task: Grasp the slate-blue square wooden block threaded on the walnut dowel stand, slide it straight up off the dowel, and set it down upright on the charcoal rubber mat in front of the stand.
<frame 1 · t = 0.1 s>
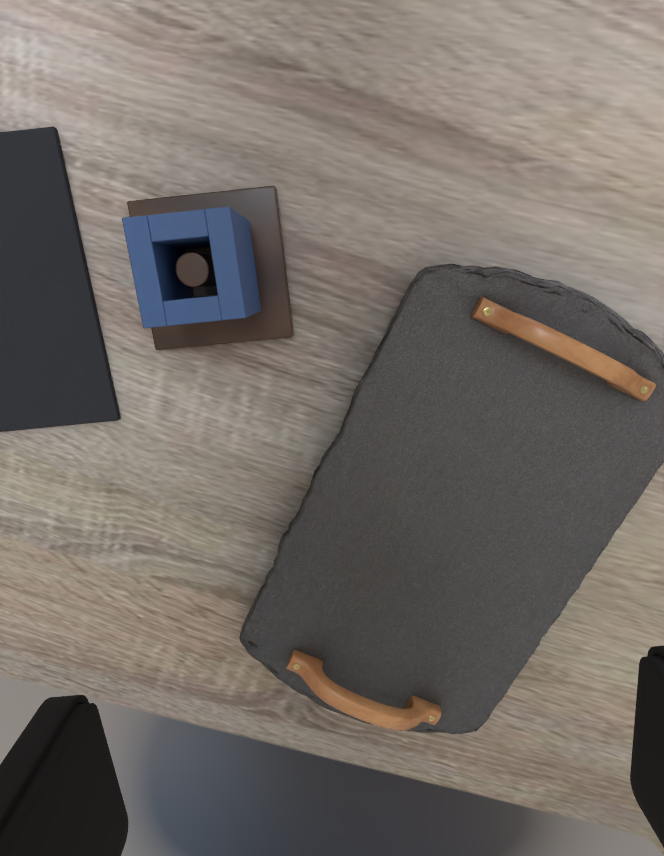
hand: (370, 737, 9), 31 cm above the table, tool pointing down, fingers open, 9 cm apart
dowel stand: (215, 271, 37), on the table
block: (212, 271, 36), point 1 cm above the table, touching dowel stand
serving tray: (443, 514, 42), on the table
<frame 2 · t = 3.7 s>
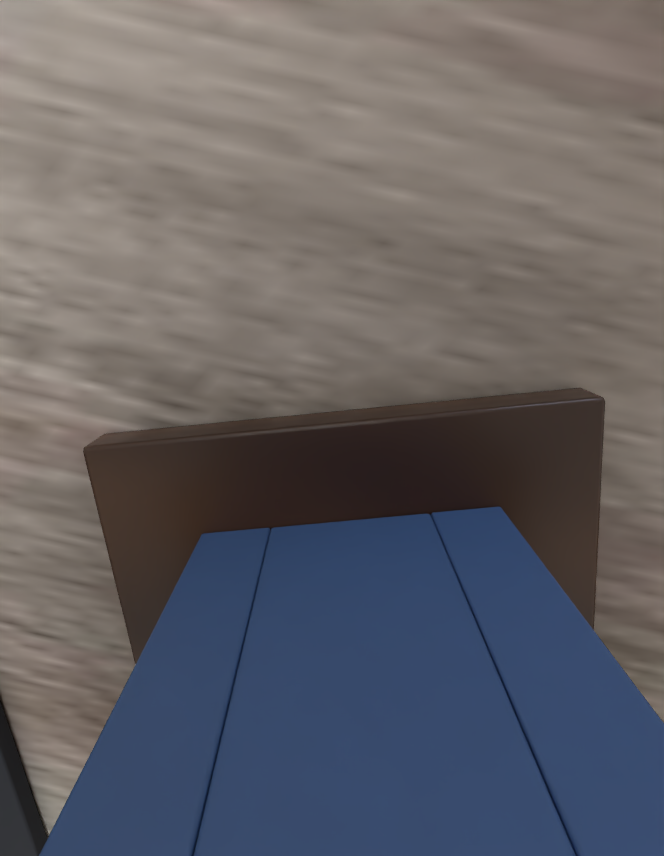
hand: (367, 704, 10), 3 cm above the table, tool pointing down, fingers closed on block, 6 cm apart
dowel stand: (359, 616, 12), on the table
block: (362, 645, 11), point 1 cm above the table, touching dowel stand, gripper
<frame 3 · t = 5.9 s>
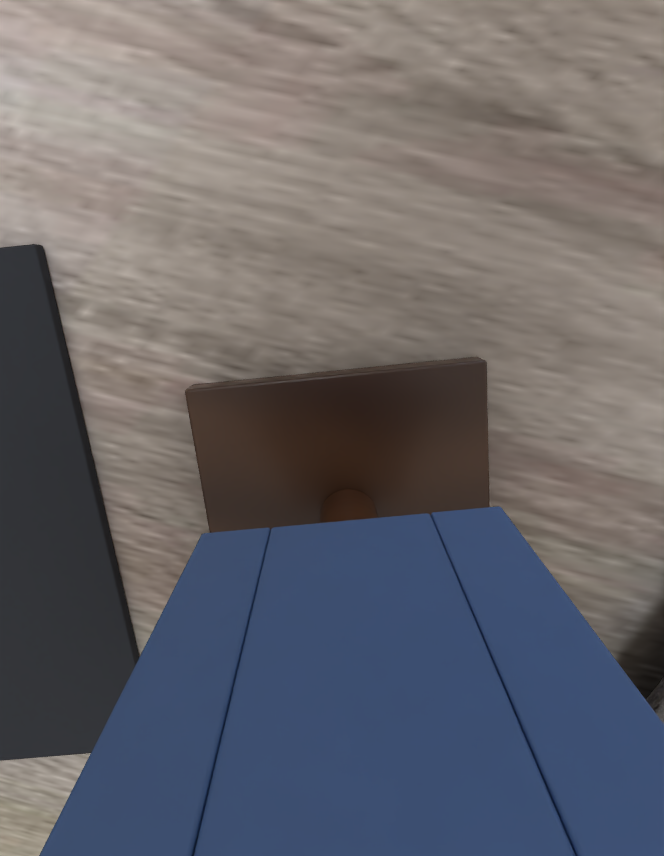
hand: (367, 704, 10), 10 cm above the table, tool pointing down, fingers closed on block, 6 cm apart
dowel stand: (347, 503, 19), on the table
block: (362, 644, 11), point 8 cm above the table, touching gripper
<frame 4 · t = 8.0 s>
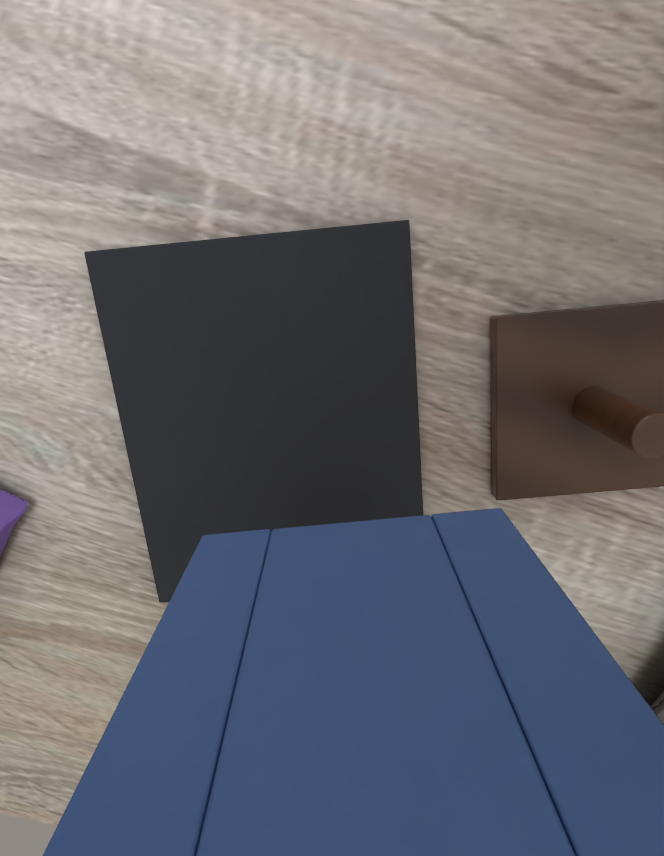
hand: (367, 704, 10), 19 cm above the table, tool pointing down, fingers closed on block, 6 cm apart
dowel stand: (582, 401, 28), on the table
block: (362, 646, 11), point 18 cm above the table, touching gripper
mat: (272, 429, 28), on the table
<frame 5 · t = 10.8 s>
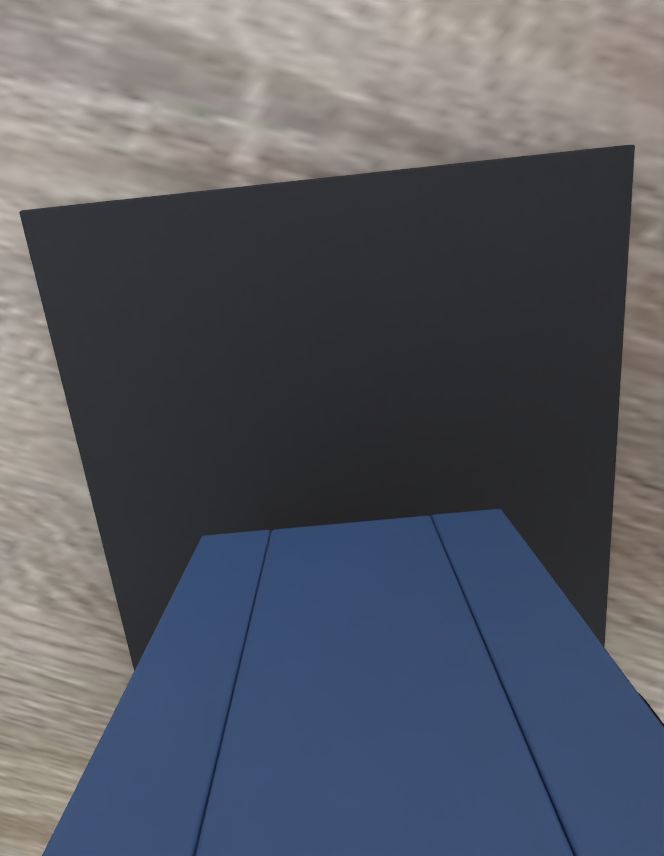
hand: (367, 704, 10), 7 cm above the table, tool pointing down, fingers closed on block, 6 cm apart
block: (362, 647, 11), point 6 cm above the table, touching gripper
mat: (354, 520, 16), on the table
when the fingers open (2 cm above the table, at t = 12.6 s): block stays where it is, resting on mat.
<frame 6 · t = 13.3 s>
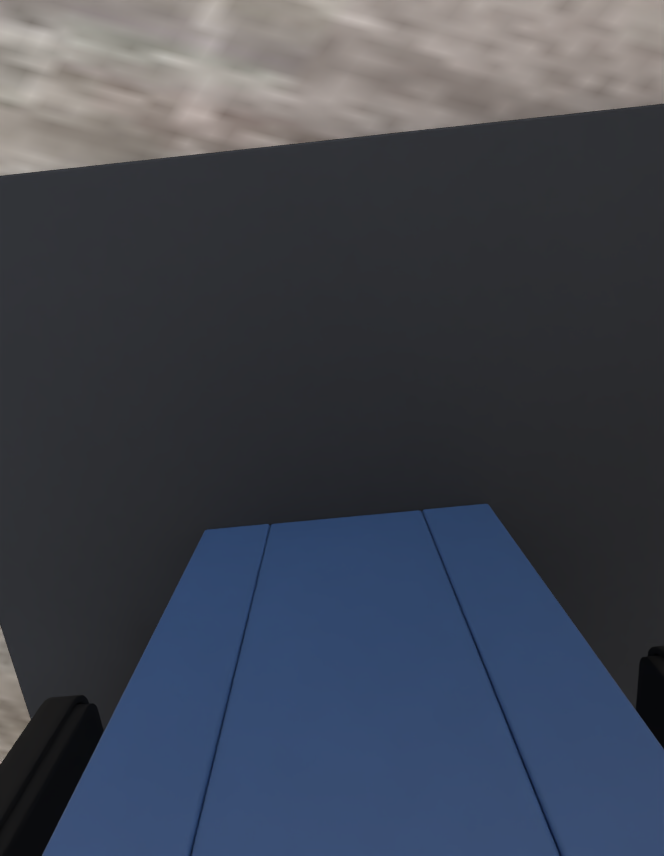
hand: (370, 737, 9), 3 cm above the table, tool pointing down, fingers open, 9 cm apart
block: (357, 636, 12), resting on mat
mat: (357, 618, 12), on the table
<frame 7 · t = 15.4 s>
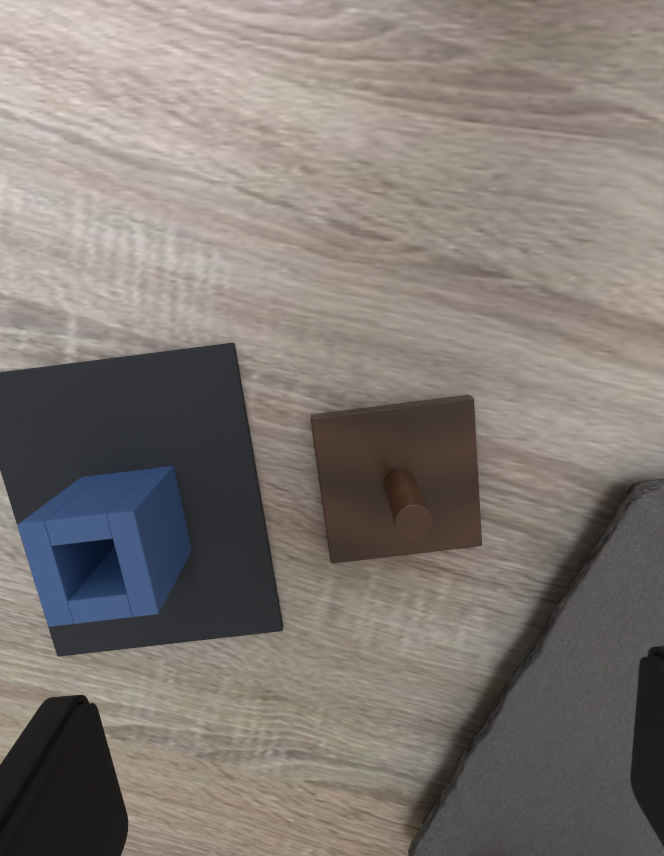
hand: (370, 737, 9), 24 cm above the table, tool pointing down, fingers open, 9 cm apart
dowel stand: (397, 478, 33), on the table
block: (137, 514, 33), resting on mat
mat: (140, 509, 34), on the table
serving tray: (628, 711, 38), on the table
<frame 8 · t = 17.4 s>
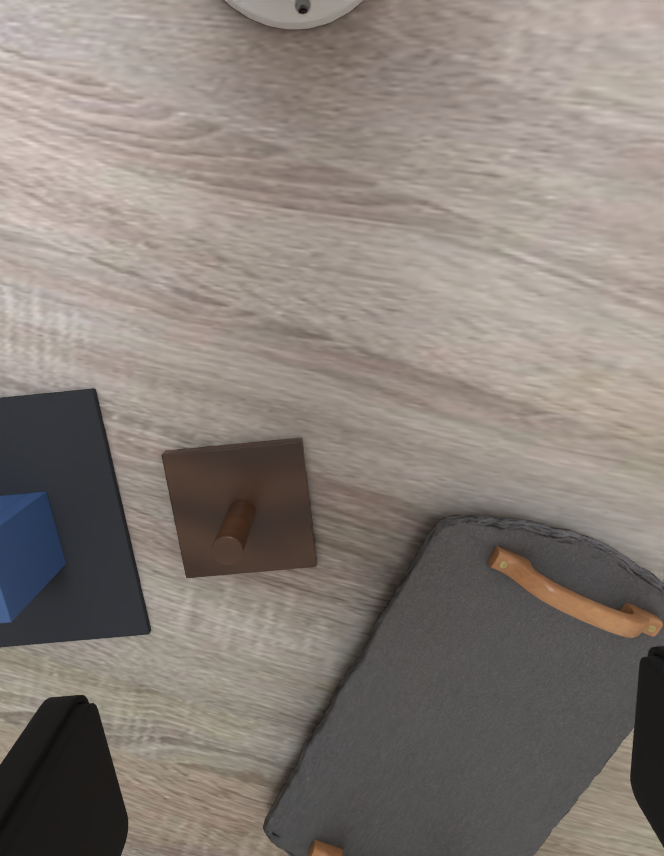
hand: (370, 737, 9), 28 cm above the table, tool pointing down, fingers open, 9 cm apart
dowel stand: (243, 507, 38), on the table
block: (17, 531, 38), resting on mat
mat: (21, 527, 39), on the table
serving tray: (458, 710, 44), on the table
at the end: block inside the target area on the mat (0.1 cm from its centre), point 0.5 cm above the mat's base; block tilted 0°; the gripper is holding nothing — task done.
